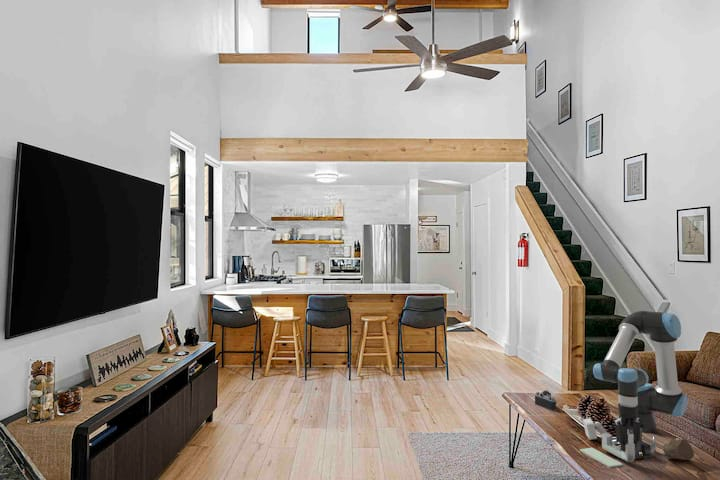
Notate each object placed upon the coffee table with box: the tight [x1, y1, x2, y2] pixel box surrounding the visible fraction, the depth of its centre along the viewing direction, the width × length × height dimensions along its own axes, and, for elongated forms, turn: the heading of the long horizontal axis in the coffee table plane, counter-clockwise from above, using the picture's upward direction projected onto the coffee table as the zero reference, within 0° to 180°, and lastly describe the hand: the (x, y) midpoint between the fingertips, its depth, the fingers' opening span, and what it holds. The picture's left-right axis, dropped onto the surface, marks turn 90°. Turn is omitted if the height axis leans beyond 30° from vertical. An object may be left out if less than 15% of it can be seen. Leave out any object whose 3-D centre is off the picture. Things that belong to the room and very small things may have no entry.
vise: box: [611, 428, 657, 460], centre depth 220 cm, size 24×8×12 cm, turn 106°
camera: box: [534, 389, 558, 412], centre depth 286 cm, size 16×8×10 cm, turn 25°
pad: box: [579, 447, 624, 469], centre depth 215 cm, size 7×18×1 cm, turn 16°
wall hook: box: [582, 418, 608, 441], centre depth 237 cm, size 8×10×10 cm
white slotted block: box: [601, 431, 635, 463], centre depth 216 cm, size 3×15×12 cm, turn 16°
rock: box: [662, 437, 695, 461], centre depth 215 cm, size 12×10×10 cm
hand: (628, 457), depth 210 cm, fingers closed on white slotted block, 3 cm apart
